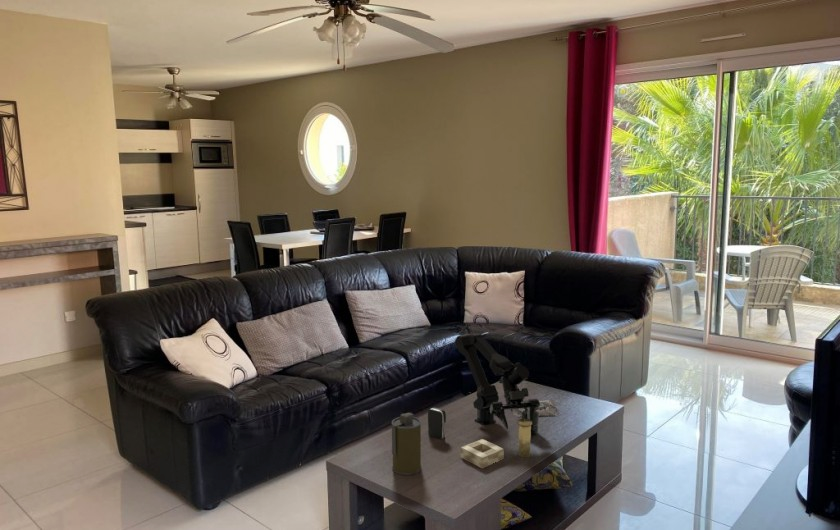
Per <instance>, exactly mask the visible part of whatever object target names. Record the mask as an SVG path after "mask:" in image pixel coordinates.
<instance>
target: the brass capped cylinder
mask: <svg viewBox="0 0 840 530" xmlns="http://www.w3.org/2000/svg"><path fill="white" fill-rule="evenodd" d="M517 425H518V441H517V443H518V446H517V447H518V448H517V451H518V452H517V455H518V454H519V455H520V456H522V457H521V458H529V457H530V456H531V443H532V442H531V439H532V436H531V425H532V421H531V420H529V419H521V418H519V419H518V420H517ZM519 455H518V456H519ZM520 456H519V457H520Z"/></svg>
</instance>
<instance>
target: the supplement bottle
mask: <svg viewBox="0 0 840 530" xmlns="http://www.w3.org/2000/svg"><path fill="white" fill-rule="evenodd" d="M527 411H528V410H527V409H526V408H524V410H523V411H522V416H521V417H520V419H528V416H527ZM539 421H540V419H539V413H538V412H537V411H535V412H534V413H533V419H532V427H531V437H535V436H537V435H539Z"/></svg>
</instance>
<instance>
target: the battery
mask: <svg viewBox="0 0 840 530" xmlns="http://www.w3.org/2000/svg"><path fill="white" fill-rule="evenodd" d="M427 412H428V413H427V428H428V432H427V435H428V436H430V437H433V438H436V439H440V440H443V439H444V438H445V435H446V434H445V424H446V422H447V413H446V411H445V410H444V409H441V408H439V407H432V408H430V409H428V410H427Z"/></svg>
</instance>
